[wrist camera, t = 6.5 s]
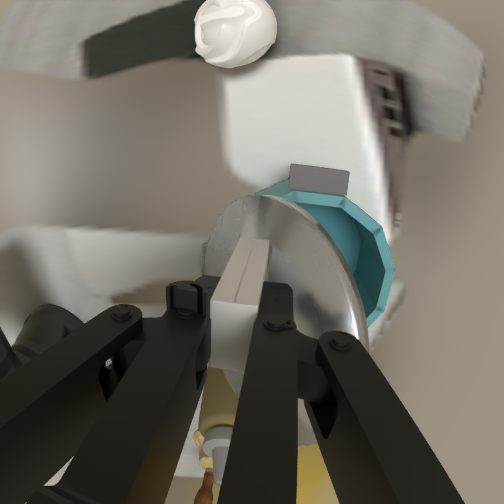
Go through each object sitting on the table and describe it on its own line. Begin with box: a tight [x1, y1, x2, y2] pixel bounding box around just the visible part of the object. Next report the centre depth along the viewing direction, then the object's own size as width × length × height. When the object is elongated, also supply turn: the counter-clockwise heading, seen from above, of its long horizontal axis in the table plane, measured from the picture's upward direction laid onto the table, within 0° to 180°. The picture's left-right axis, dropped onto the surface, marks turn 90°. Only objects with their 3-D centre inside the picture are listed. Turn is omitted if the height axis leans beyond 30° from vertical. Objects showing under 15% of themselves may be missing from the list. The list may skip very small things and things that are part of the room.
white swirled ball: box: [194, 0, 277, 68], centre depth 22 cm, size 8×8×8 cm
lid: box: [202, 195, 369, 445], centre depth 18 cm, size 15×16×3 cm
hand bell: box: [194, 430, 214, 504], centre depth 37 cm, size 8×8×16 cm
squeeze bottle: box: [199, 366, 239, 485], centre depth 30 cm, size 8×8×18 cm
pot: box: [254, 164, 395, 328], centre depth 28 cm, size 18×15×9 cm
